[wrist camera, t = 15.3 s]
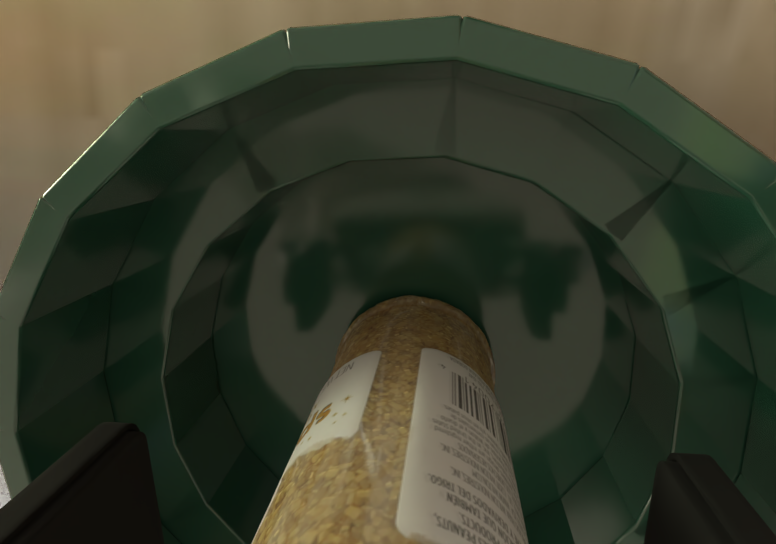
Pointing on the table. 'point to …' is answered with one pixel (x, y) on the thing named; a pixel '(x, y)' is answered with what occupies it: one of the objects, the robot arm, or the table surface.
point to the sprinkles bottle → (402, 440)
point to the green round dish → (403, 269)
